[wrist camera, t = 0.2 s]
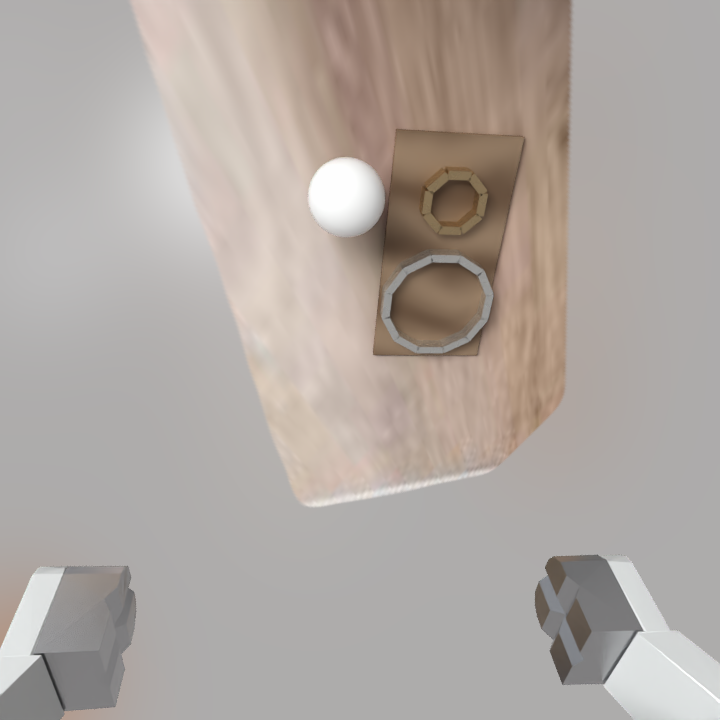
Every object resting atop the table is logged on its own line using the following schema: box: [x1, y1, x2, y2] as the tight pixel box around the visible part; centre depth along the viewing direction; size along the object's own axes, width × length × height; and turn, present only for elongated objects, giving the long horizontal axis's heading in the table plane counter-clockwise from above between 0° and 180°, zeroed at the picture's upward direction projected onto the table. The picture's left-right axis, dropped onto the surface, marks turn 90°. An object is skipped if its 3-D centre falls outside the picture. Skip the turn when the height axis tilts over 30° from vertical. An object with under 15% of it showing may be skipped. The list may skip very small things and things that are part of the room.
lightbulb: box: [308, 157, 385, 238], centre depth 50 cm, size 6×6×11 cm
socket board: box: [373, 129, 524, 355], centre depth 59 cm, size 24×12×2 cm, turn 176°
